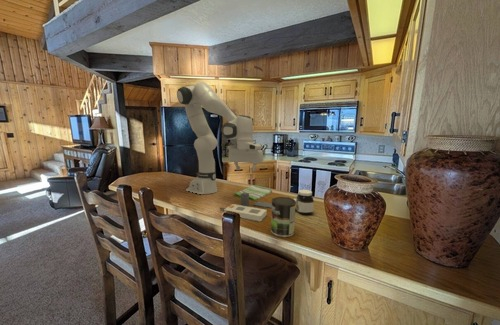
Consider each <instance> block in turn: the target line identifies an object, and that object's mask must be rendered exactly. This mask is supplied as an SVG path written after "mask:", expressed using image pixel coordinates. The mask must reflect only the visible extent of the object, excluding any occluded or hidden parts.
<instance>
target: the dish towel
mask: <svg viewBox="0 0 500 325" xmlns="http://www.w3.org/2000/svg"><path fill="white" fill-rule="evenodd" d="M272 192H273V190H272V189H270V188H268V187H263V186H259V185H256V184H252V185H251V186H249V187H247V188H244V189H242V190H239V191H237V192H234V194H233V196H234V197H237V198H241V194H242V193H249V201H254V202H256V201H257V200H260V199H261V198H263V197H266V196H268V195H269V194H271V193H272Z"/></svg>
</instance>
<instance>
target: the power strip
mask: <svg viewBox="0 0 500 325" xmlns="http://www.w3.org/2000/svg"><path fill="white" fill-rule="evenodd" d="M219 209H220V210H221V211H222V210H223V213H224V212H226V211H232V212H236V213H239V214H240V217H241V218H240V219H242V220H247V221H253V222H258V223H261V222H262V221H263V220H264V219H265V218H266V217H267V215H268V210H267V209H266V208H265V209H264V208H260V207H254V206H249V207H247V206H241V204H234V203H232V204H230V205H229V206H227V207H226V208H225V207H220V208H219Z"/></svg>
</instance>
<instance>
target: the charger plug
mask: <svg viewBox="0 0 500 325" xmlns="http://www.w3.org/2000/svg"><path fill="white" fill-rule="evenodd" d="M240 205H241V206H247V207H250V200H249V193H242V194H241V197H240Z"/></svg>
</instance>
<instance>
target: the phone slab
mask: <svg viewBox="0 0 500 325" xmlns="http://www.w3.org/2000/svg"><path fill="white" fill-rule="evenodd" d="M252 207H257V208H264V207H265V209H270V210H272V202H271V203H270V202H265V201H257V200H256V201H255V202H254V203H253V204H252Z"/></svg>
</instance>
